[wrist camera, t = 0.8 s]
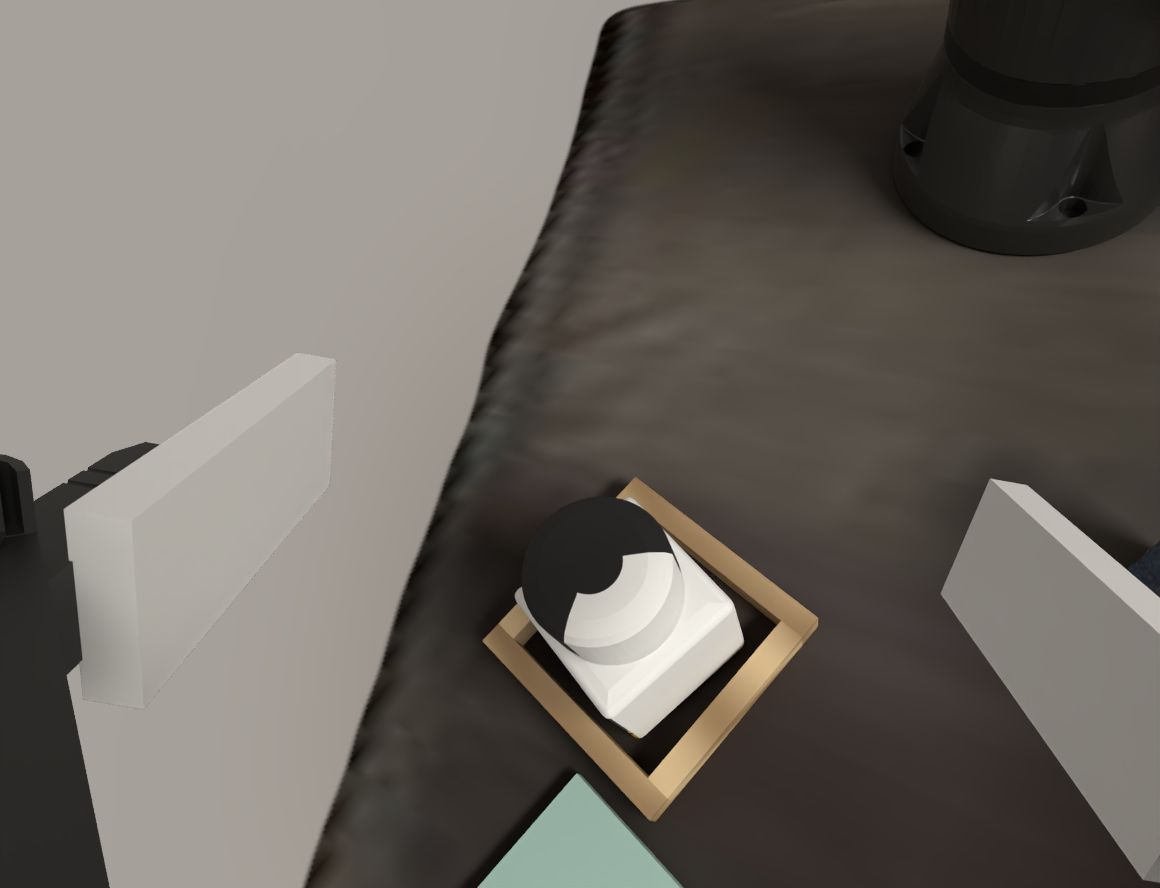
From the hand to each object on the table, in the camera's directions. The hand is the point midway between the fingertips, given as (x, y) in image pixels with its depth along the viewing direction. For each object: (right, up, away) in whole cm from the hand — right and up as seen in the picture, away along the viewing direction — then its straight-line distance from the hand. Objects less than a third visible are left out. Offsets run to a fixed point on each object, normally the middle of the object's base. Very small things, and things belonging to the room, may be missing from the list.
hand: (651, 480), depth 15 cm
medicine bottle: (+2, -9, +24) cm, 25 cm away
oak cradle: (+2, -9, +23) cm, 25 cm away
